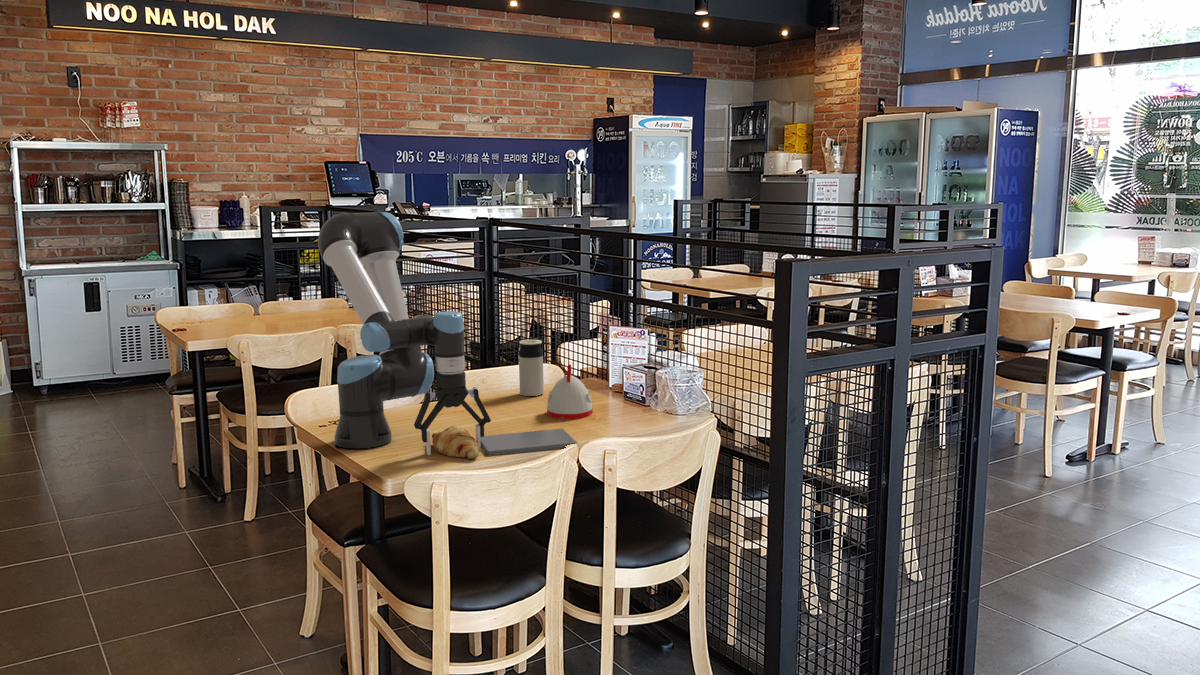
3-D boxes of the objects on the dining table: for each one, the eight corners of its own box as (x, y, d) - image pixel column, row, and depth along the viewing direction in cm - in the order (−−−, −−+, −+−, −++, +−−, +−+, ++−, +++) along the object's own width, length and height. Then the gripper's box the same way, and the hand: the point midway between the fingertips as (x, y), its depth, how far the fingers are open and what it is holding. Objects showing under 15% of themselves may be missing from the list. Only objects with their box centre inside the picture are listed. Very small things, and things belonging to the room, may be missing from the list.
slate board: (488, 456, 237) (488, 451, 236) (478, 441, 251) (477, 436, 250) (577, 447, 244) (577, 442, 244) (562, 433, 258) (562, 428, 258)
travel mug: (534, 398, 300) (532, 344, 297) (515, 395, 304) (513, 342, 301) (548, 393, 306) (547, 340, 303) (529, 390, 311) (528, 338, 308)
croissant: (486, 471, 235) (498, 442, 236) (457, 461, 228) (469, 431, 230) (442, 452, 251) (453, 425, 252) (413, 442, 244) (425, 414, 245)
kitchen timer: (593, 408, 286) (592, 361, 284) (591, 419, 272) (591, 370, 270) (549, 408, 287) (548, 361, 284) (545, 419, 273) (544, 370, 270)
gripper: (403, 377, 230) (408, 460, 233) (500, 370, 237) (502, 450, 240) (401, 372, 237) (404, 452, 240) (494, 365, 244) (497, 443, 247)
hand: (453, 451), depth 240 cm, fingers open, 12 cm apart
